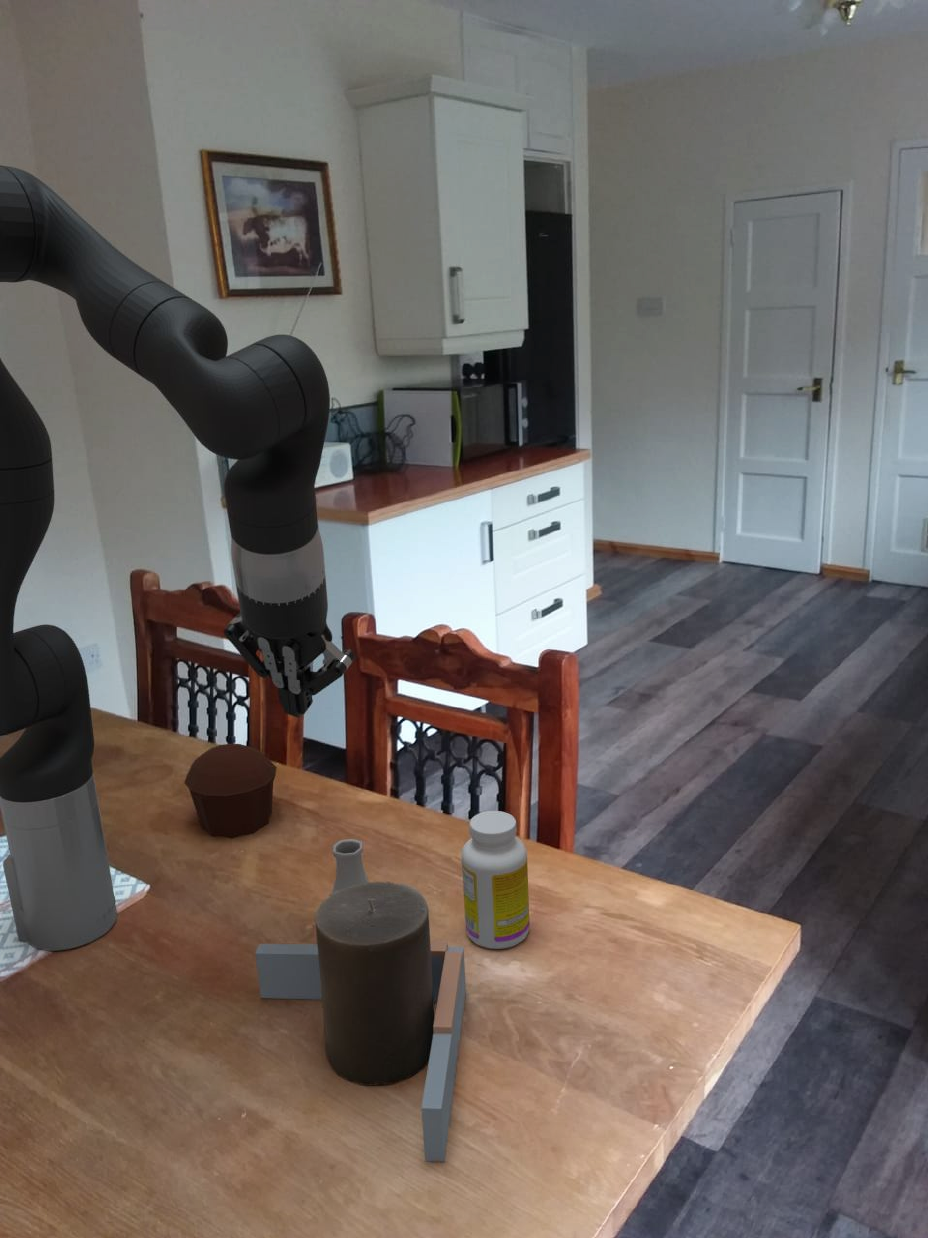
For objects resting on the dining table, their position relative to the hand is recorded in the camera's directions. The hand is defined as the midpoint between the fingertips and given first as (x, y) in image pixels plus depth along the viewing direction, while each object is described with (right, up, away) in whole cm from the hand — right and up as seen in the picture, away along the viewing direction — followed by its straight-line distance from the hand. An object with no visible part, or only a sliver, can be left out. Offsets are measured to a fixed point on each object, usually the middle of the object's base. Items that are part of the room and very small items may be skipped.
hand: (296, 709), depth 94 cm
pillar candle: (+9, -29, -7) cm, 31 cm away
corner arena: (+6, -30, -9) cm, 32 cm away
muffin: (-13, -18, +33) cm, 40 cm away
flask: (+5, -24, +9) cm, 26 cm away
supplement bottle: (+19, -24, +8) cm, 32 cm away
